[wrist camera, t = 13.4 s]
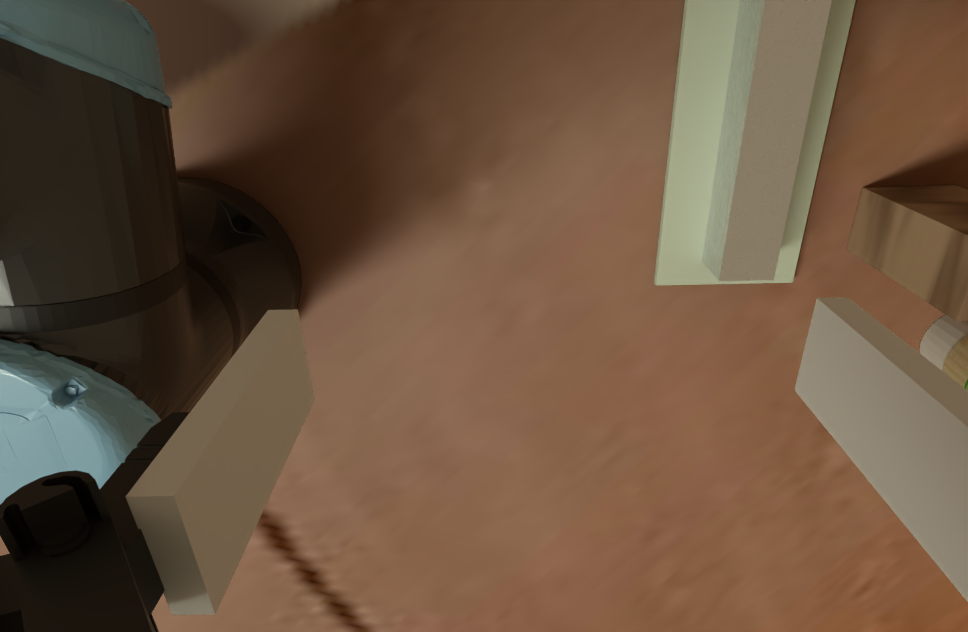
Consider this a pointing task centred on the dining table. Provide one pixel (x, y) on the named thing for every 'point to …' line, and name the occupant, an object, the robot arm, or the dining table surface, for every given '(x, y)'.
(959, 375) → the coffee cup
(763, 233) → the rail
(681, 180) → the mat
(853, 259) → the dining table surface
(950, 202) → the post
